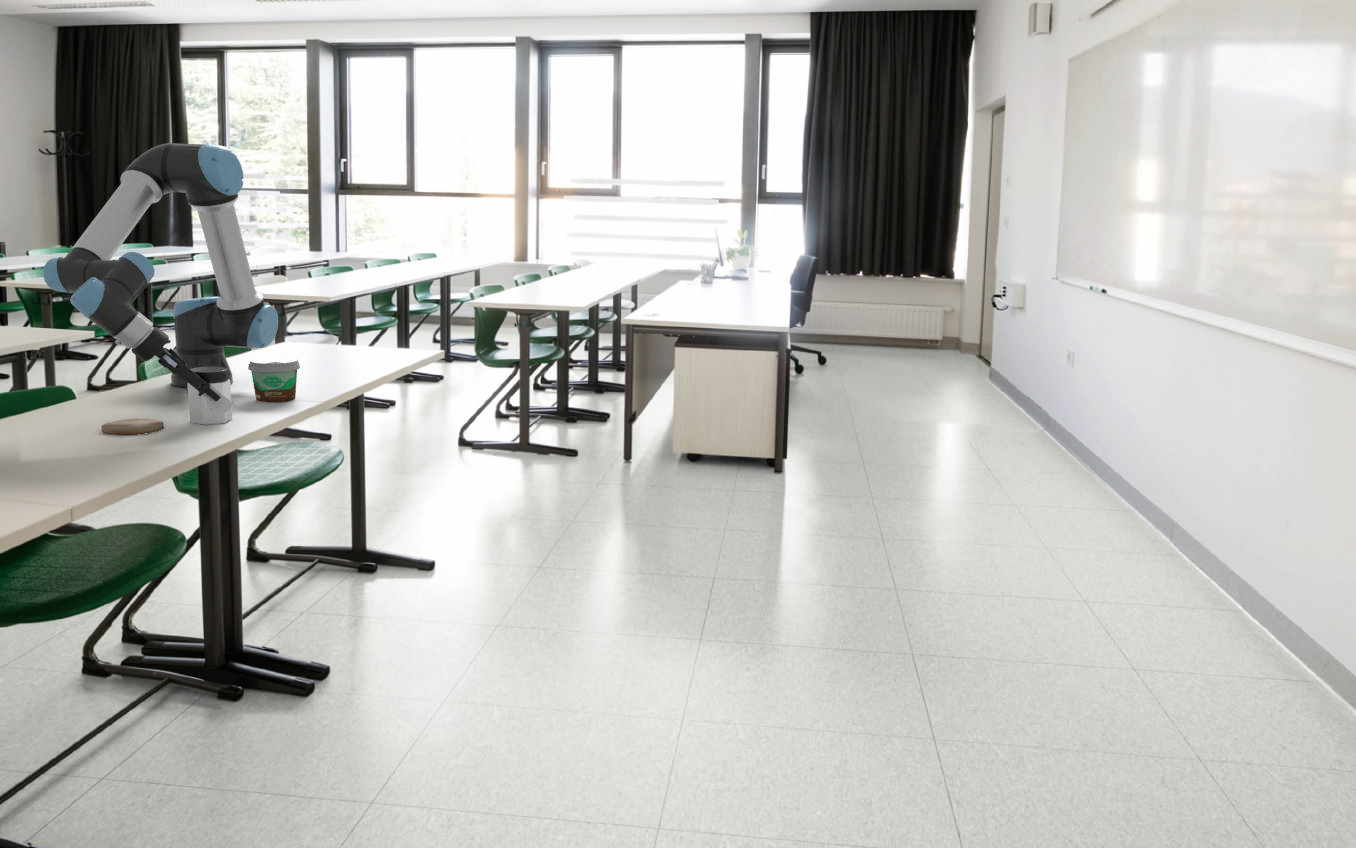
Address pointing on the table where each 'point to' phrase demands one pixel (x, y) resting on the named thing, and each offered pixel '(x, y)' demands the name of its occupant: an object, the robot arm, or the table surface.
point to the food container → (274, 381)
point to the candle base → (132, 426)
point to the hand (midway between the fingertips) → (226, 404)
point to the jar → (202, 406)
